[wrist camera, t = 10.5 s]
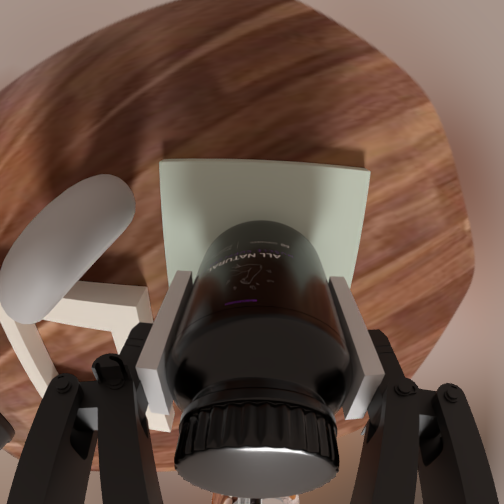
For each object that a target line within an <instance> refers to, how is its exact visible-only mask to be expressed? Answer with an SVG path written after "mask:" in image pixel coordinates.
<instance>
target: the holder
mask: <svg viewBox="0 0 504 504" xmlns="http://www.w3.org/2000/svg"><path fill="white" fill-rule="evenodd" d="M43 320H48V321H53V322H58V323H63V324H69V325H74V326H80V327H86V328H92V329H98V330H105V331H111V332H112V335H113V339H114V342H115V345H116V348H117V351H118V354H120V352H121V350H122V348H123V346H124V344H125V342H126V340H127V339H128V335H129V333H130V331H131V329H132V328H133V327H135V326H136V325H137V324H138V323H139V322H144V323H154V322H153V317H152V312H151V306H150V300H149V295H148V288H147V287H144V286H131V285H119V284H108V283H97V282H86V281H77V282H76V283H75V284H74V286H73V287H72V288H71V289H70V290H69V291H68V292H67V293H66V295H65V296H64V297H63V298H62V299H61V300H60V301H59V302H58V304H57V305H56V306H55V307H54V308H53V309H52V310H51V311H50V312H49V314H47V315H46V316H45V317H44V318H43ZM0 322H1V324H2V326H3V328H4V331H5V333H6V335H7V337H8V339H9V341H10V343H11V345H12V347H13V349H14V351H15V353H16V355H17V356H18V358H19V360H20V362H21V364H22V366H23V367H24V369H25V371H26V373H27V374H28V376H29V378H30V379H31V381H32V383H33V384H34V386H35V388H36V389H37V391H38V392H39V394H40V396H41V397H42V399H43V396H44V394H45V392H46V389H47V387H48V385H49V383H50V382H51V380H52V379H53V378H54V377H56V376H57V375H59V374H58V372H57V370H56V368H55V366H54V364H53V362H52V360H51V358H50V356H49V354H48V352H47V350H46V348H45V346H44V343H43V341H42V339H41V337H40V334H39V332H38V330H37V327H36V325H35V323H34V324H21V323H19V322H16V321H14V320H13V319H12V318H10V317H9V316H8V315H7V314H6V312H5V311H4V309H3V308H2V306H1V303H0ZM174 415H175V412H174V409H173V405H172V406H171V411H170V415H164V414H158V413H151V411H150V409H149V406H148V407H147V411H146V417H147V419H148V425H149V429H153V430H159V431H165V432H171V428H172V424H173V419H174Z"/></svg>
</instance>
